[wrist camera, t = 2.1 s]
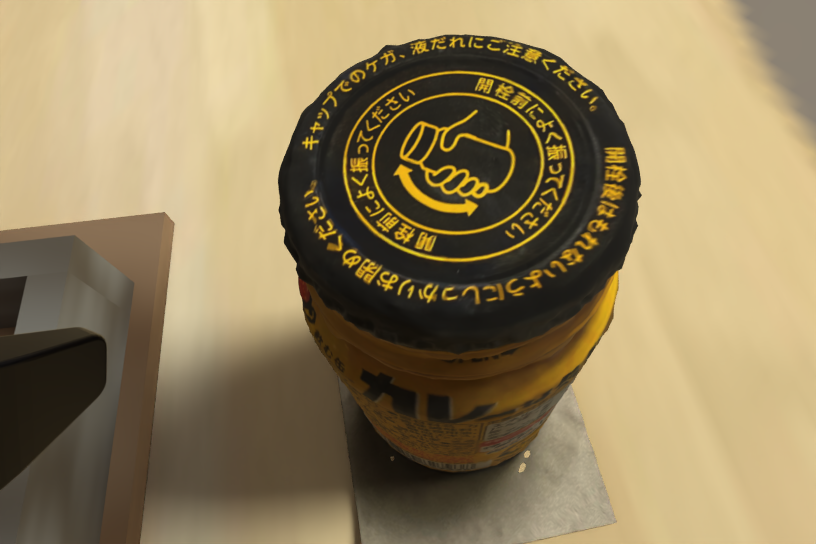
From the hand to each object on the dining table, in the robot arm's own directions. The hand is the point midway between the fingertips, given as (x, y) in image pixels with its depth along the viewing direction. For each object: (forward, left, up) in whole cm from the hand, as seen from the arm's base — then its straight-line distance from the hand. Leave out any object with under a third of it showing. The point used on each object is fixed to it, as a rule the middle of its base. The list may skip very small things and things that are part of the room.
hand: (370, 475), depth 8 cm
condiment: (+3, -2, -11) cm, 11 cm away
